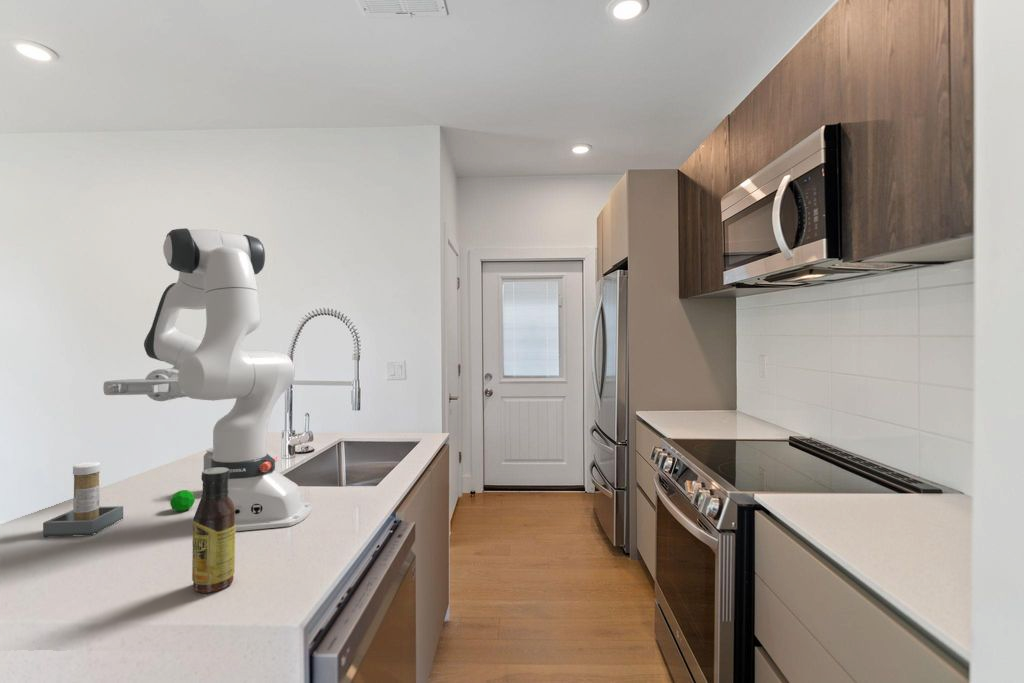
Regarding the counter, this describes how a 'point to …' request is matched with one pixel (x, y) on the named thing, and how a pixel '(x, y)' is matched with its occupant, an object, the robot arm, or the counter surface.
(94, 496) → the sprinkles bottle
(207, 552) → the sauce bottle
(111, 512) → the bin
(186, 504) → the polyhedron
